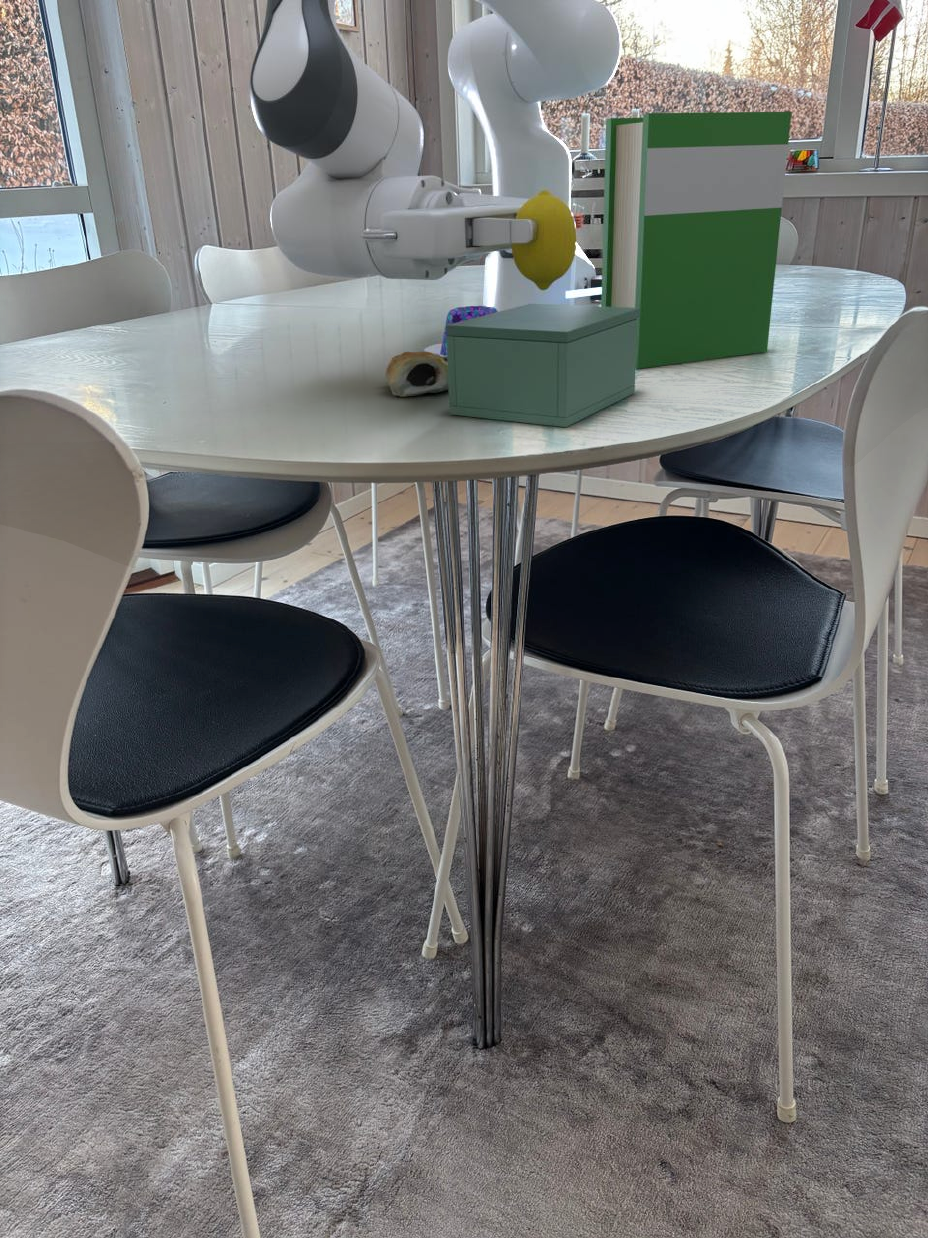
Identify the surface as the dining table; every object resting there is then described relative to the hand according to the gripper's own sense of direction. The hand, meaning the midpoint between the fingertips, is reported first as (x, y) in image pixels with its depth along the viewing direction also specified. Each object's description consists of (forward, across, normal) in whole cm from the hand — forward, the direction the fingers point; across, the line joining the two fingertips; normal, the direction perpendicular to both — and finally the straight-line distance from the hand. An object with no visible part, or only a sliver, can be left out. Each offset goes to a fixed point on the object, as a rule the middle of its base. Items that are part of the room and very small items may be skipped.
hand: (553, 228), depth 78 cm
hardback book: (+2, +28, +15) cm, 32 cm away
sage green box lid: (-1, 0, +8) cm, 8 cm away
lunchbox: (-1, 0, +15) cm, 15 cm away
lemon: (-1, 0, +5) cm, 5 cm away
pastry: (-16, +1, +15) cm, 22 cm away
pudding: (-21, +20, +15) cm, 33 cm away
